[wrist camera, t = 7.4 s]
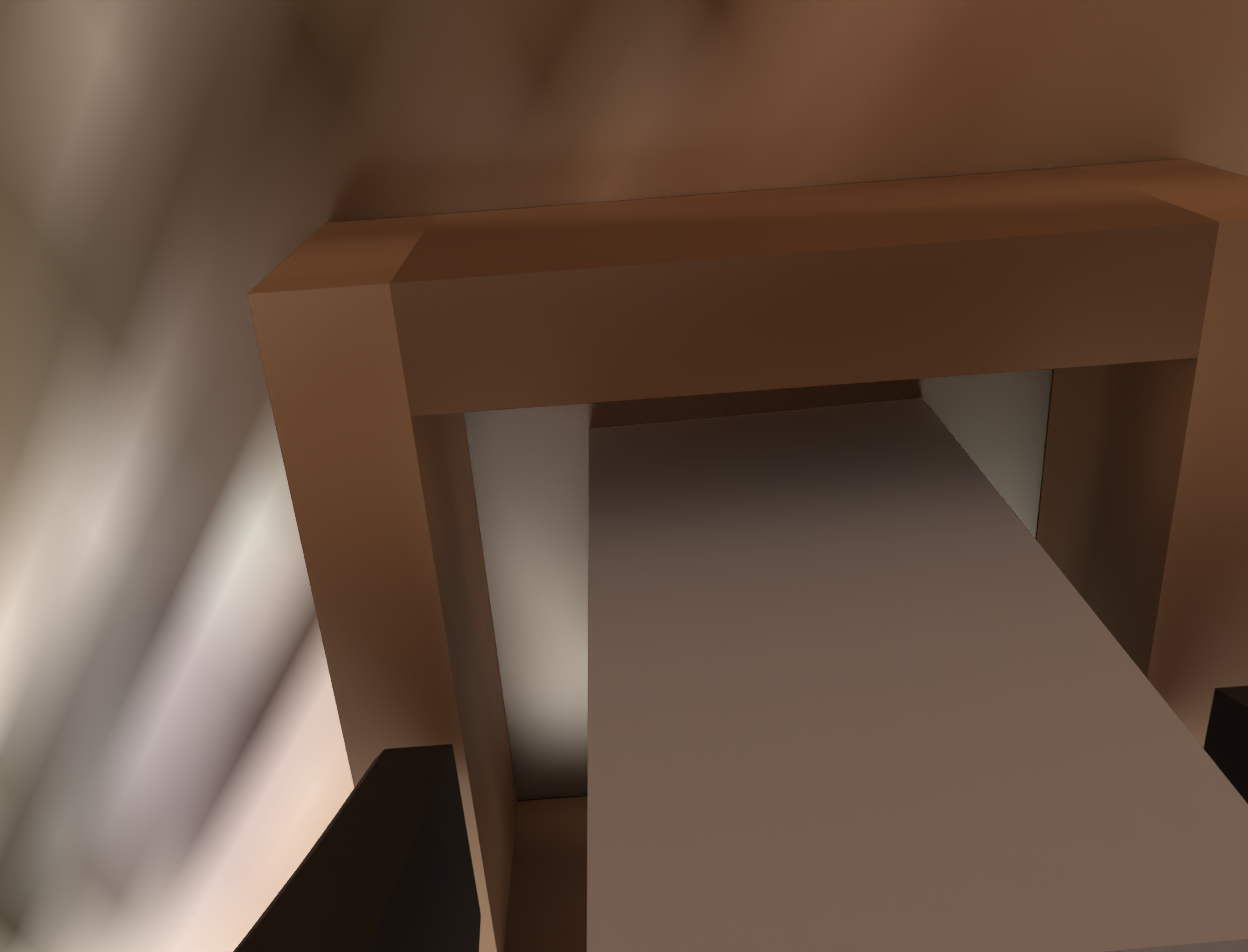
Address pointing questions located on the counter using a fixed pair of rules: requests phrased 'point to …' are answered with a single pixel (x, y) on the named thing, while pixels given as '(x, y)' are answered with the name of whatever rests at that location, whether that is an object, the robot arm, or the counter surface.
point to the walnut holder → (749, 361)
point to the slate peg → (872, 711)
